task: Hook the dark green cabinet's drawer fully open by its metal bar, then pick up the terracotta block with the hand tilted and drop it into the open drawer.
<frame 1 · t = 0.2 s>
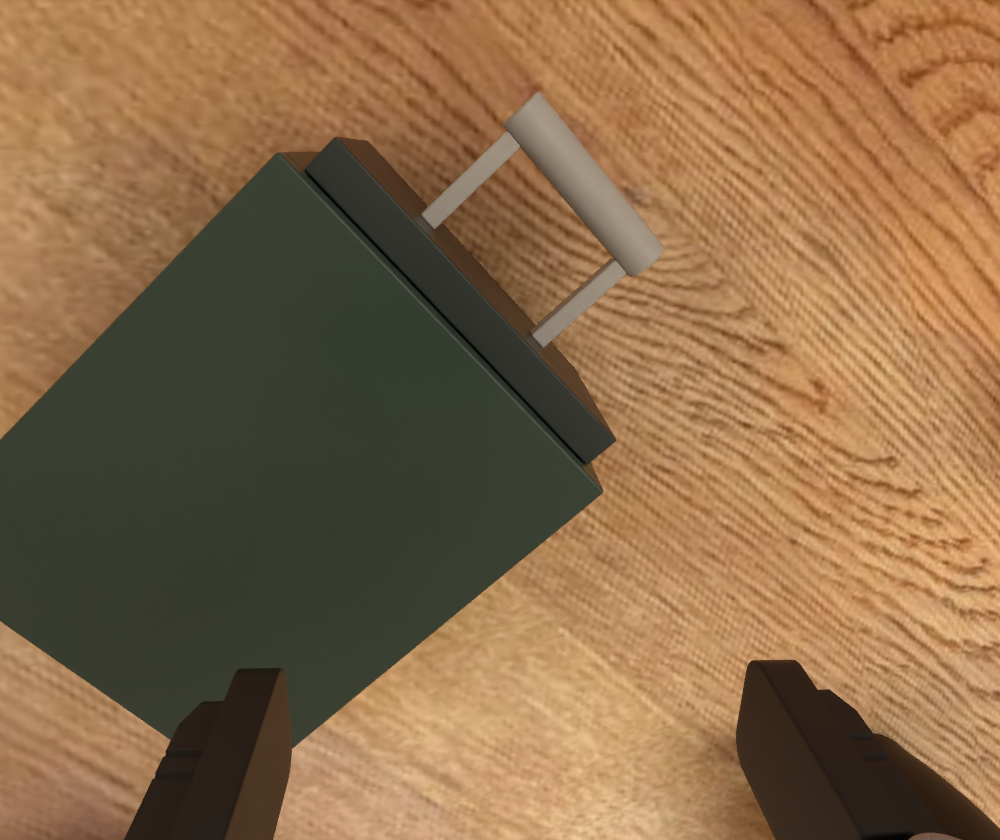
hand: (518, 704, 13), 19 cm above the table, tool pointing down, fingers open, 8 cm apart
mug: (826, 756, 39), on the table
drawer: (376, 375, 25), point 5 cm above the table, slide at 0.0 cm
cabinet: (313, 410, 30), on the table
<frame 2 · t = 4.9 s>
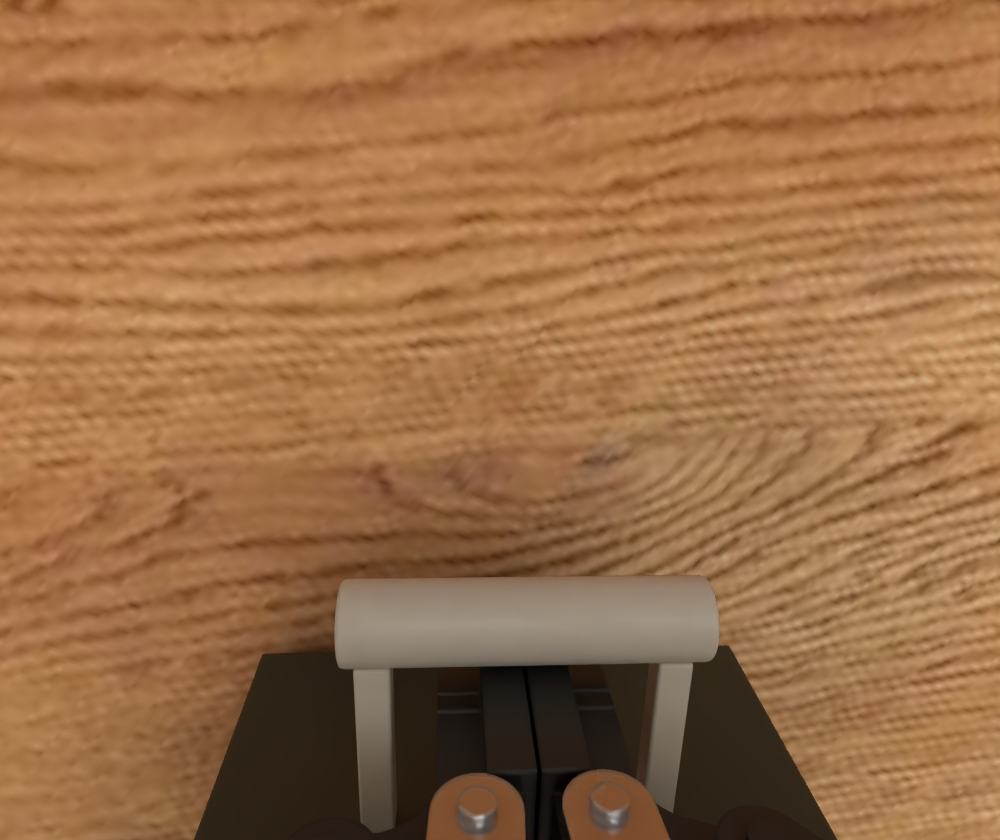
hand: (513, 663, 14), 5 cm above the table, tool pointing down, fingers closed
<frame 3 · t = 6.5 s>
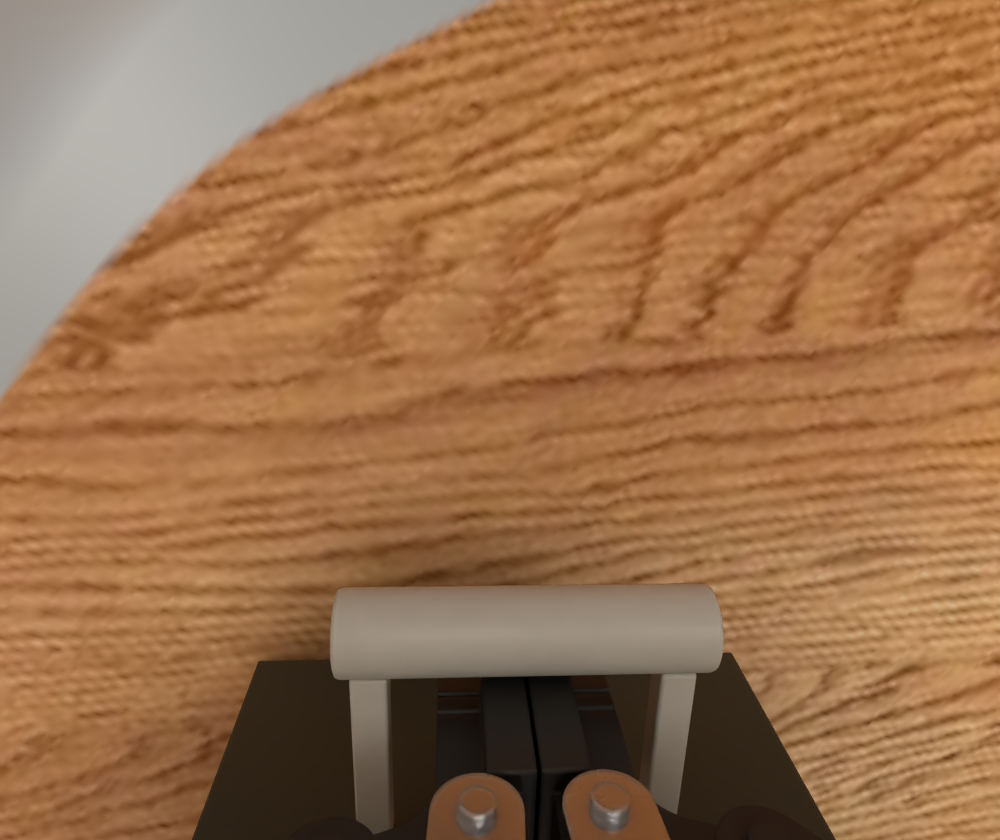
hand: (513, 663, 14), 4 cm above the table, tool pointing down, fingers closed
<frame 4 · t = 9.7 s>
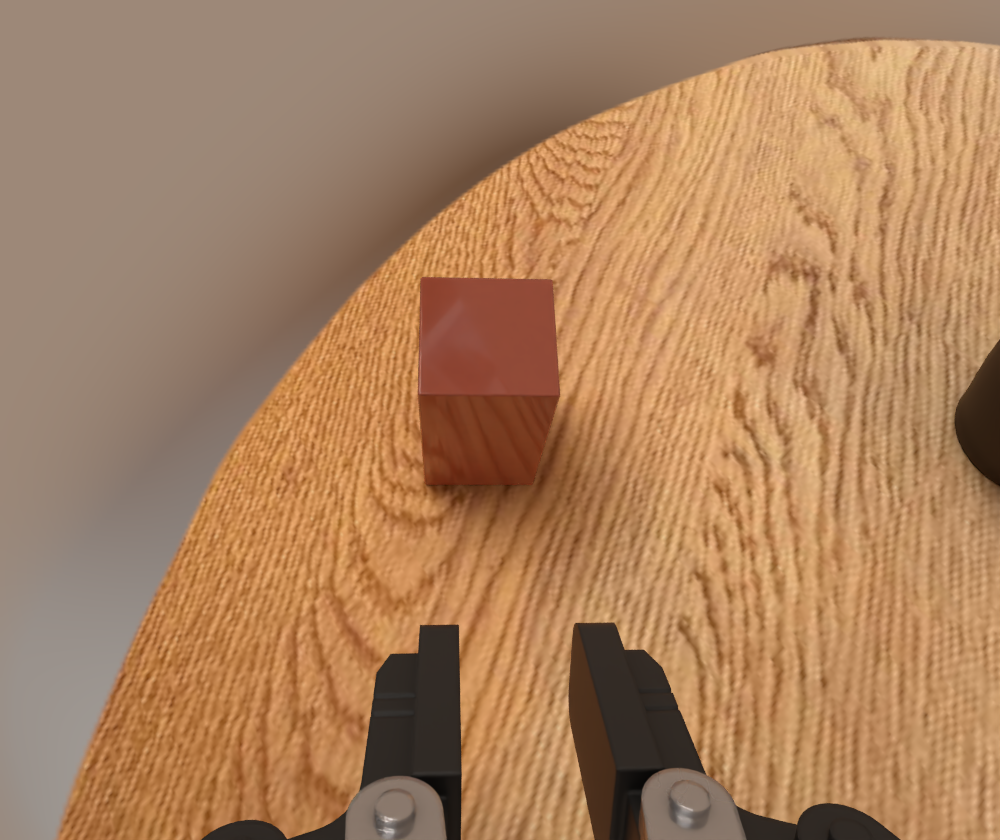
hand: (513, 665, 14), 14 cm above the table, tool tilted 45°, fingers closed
block: (478, 435, 31), on the table
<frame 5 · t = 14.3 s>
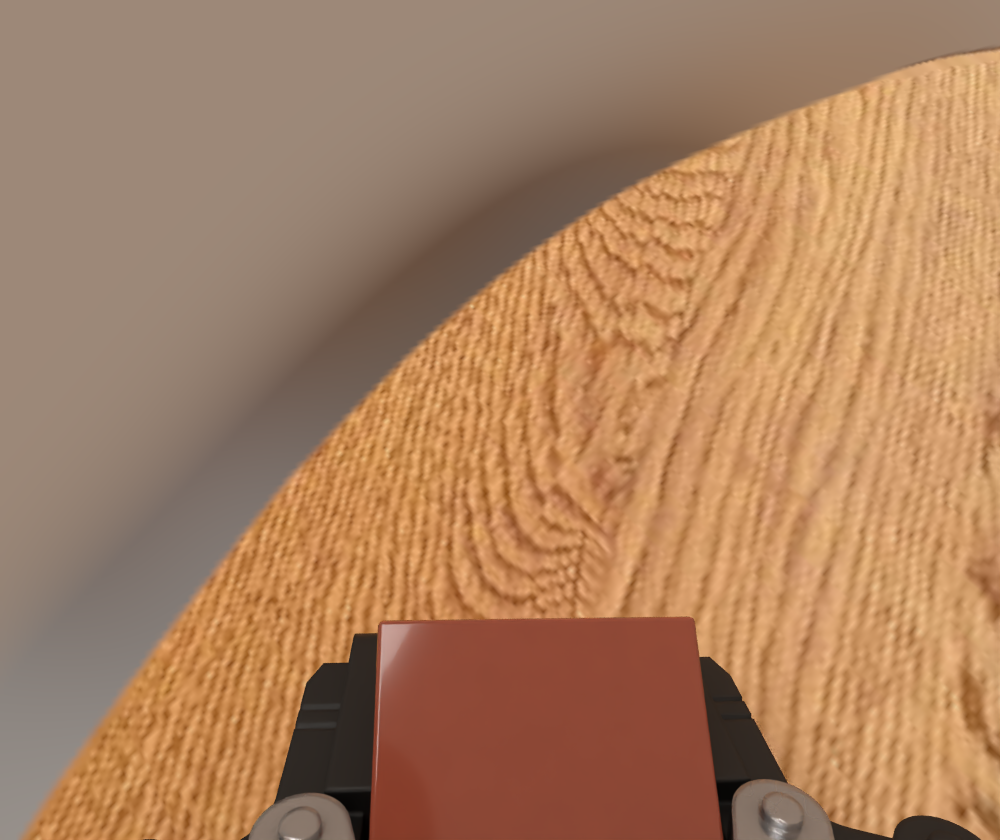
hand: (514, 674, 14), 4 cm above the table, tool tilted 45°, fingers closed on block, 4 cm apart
block: (503, 785, 17), on the table, touching gripper
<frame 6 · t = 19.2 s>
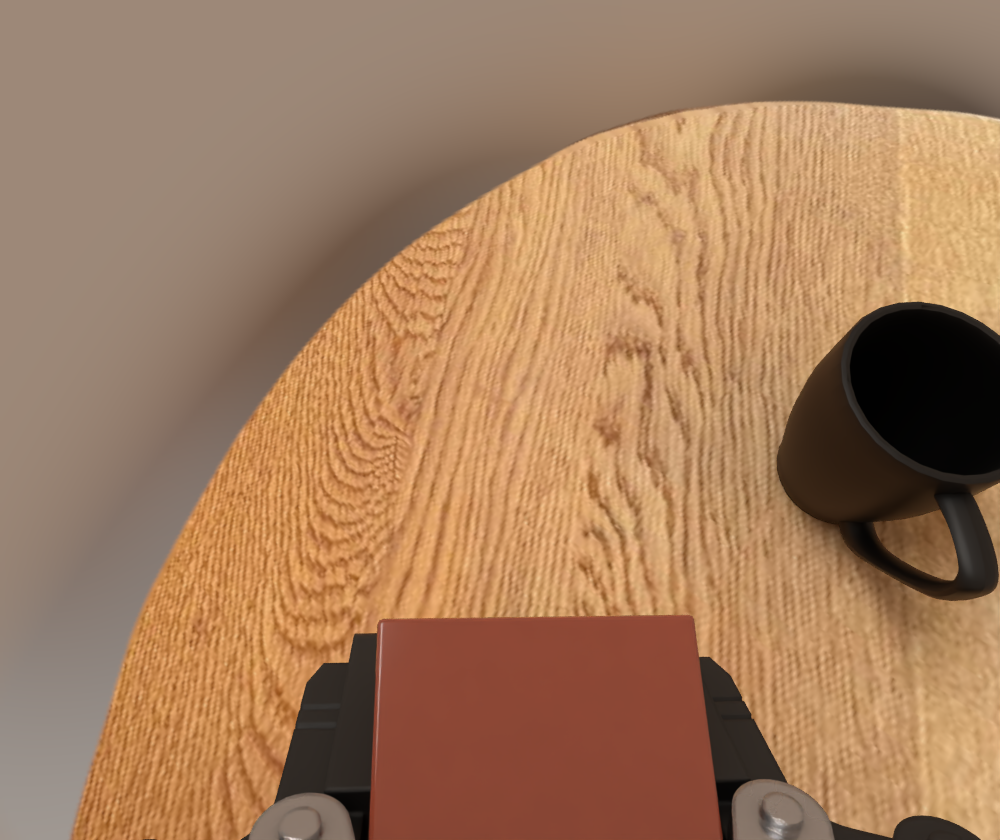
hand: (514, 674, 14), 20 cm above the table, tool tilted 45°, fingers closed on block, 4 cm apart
block: (503, 784, 17), point 16 cm above the table, touching gripper
mug: (833, 508, 38), on the table
when the fingers open (11 cm above the table, at t = 24.4 s): block drops 5 cm, resting on drawer.
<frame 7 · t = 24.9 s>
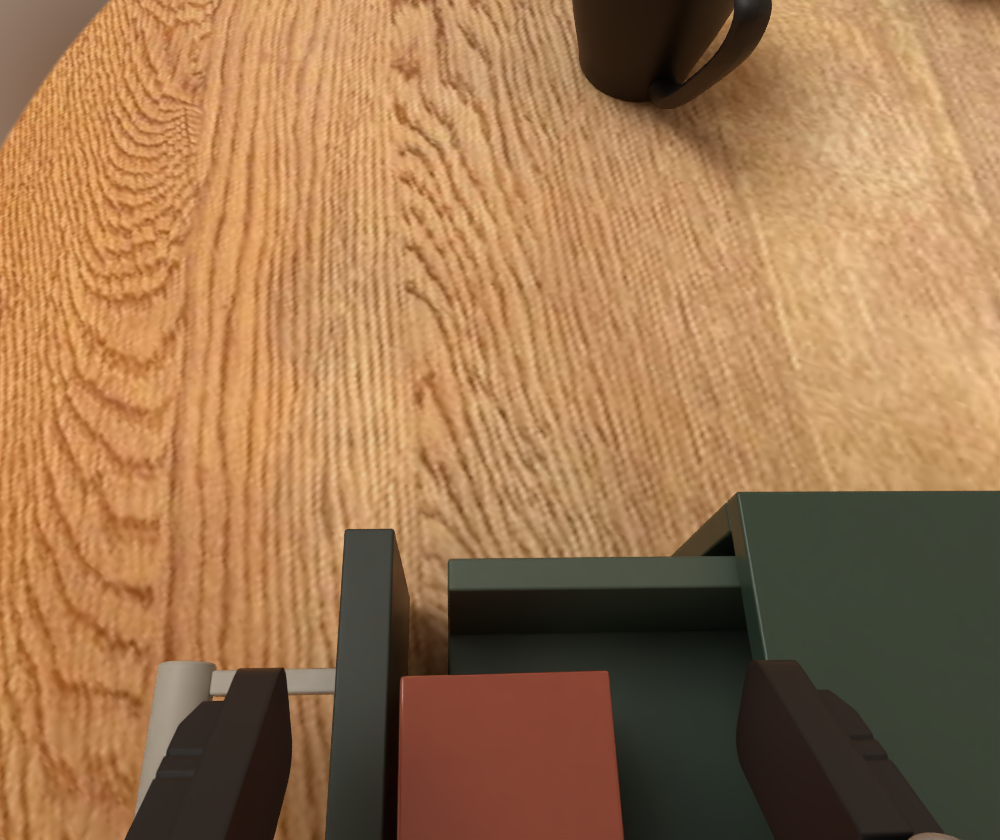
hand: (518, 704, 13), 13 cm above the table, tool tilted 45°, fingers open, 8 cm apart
block: (490, 783, 22), point 2 cm above the table, touching drawer
mug: (643, 92, 38), on the table
drawer: (535, 781, 19), point 5 cm above the table, slide at 8.3 cm, touching block
cabinet: (896, 768, 25), on the table
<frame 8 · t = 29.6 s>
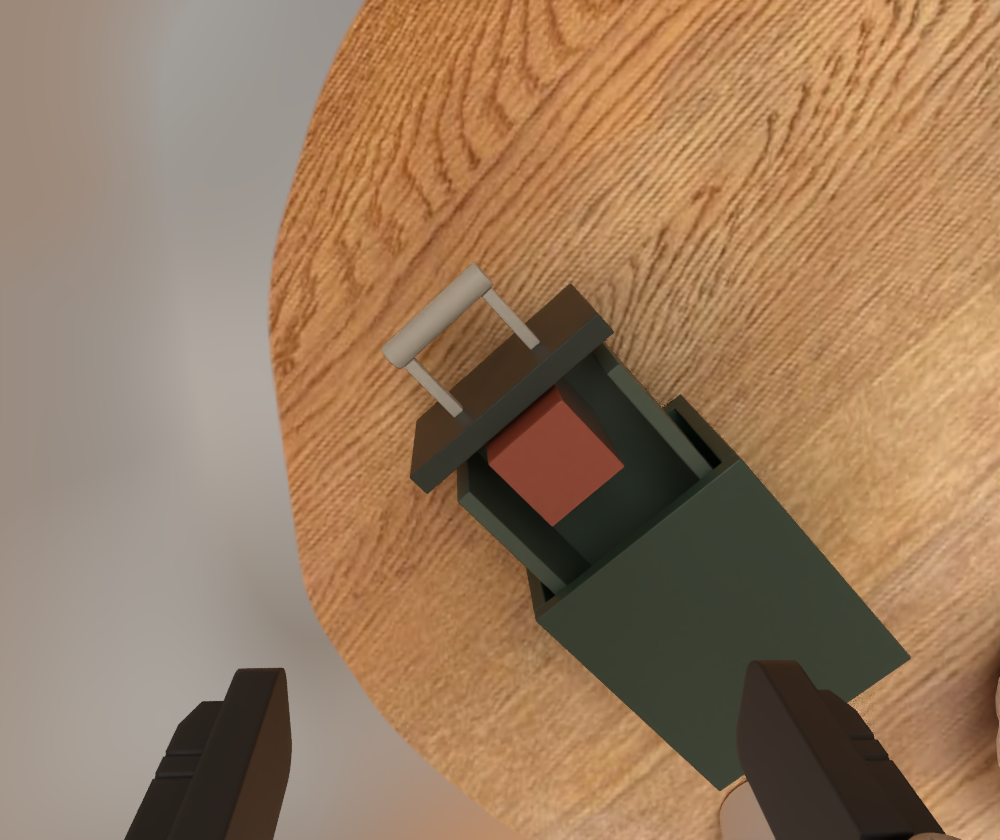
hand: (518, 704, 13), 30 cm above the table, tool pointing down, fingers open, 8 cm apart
block: (537, 407, 41), point 2 cm above the table, touching drawer
candle: (762, 807, 55), on the table
drawer: (557, 438, 39), point 5 cm above the table, slide at 8.3 cm, touching block
cabinet: (675, 545, 47), on the table
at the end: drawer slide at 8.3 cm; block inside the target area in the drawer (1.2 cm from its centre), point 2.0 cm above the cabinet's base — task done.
